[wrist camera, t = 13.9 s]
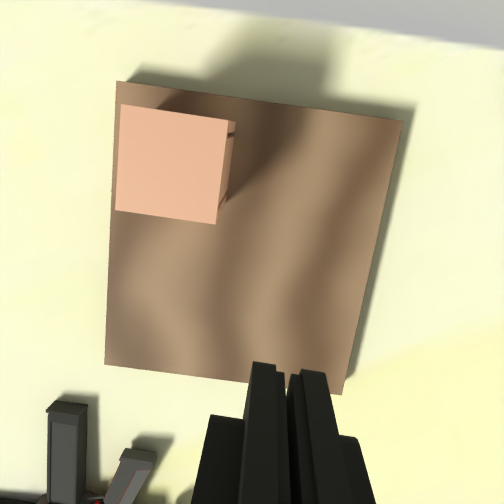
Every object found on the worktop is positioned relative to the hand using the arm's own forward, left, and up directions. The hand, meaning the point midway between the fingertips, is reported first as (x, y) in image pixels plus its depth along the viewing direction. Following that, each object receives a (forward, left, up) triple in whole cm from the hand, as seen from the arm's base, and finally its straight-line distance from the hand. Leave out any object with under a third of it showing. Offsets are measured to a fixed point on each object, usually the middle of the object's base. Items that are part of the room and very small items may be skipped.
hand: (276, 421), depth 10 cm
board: (+1, +2, -21) cm, 21 cm away
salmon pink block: (+5, -4, -20) cm, 21 cm away
